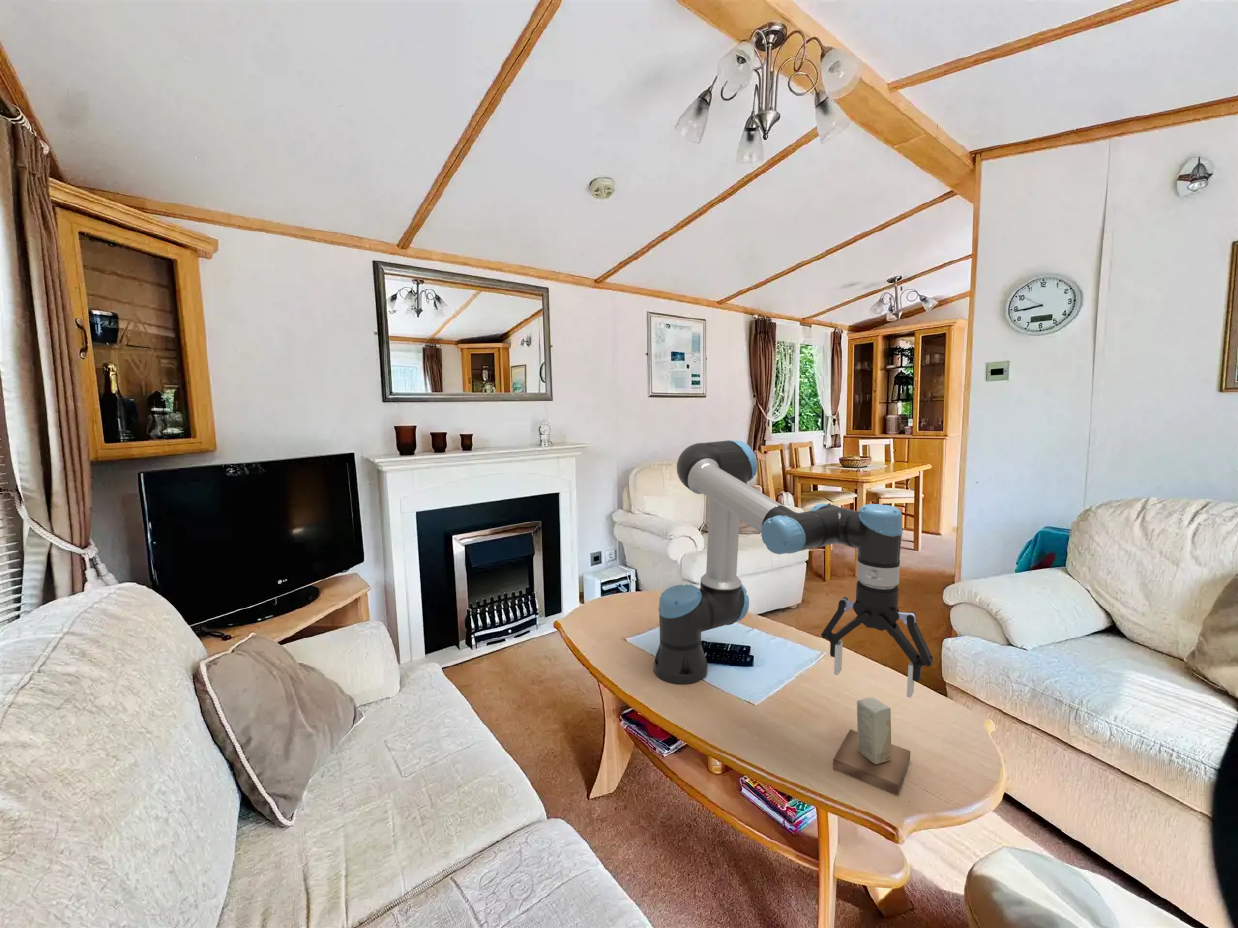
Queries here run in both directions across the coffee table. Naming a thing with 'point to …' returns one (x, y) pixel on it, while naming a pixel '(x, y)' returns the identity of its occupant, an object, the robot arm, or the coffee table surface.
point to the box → (874, 730)
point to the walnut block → (872, 765)
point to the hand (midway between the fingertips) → (872, 682)
